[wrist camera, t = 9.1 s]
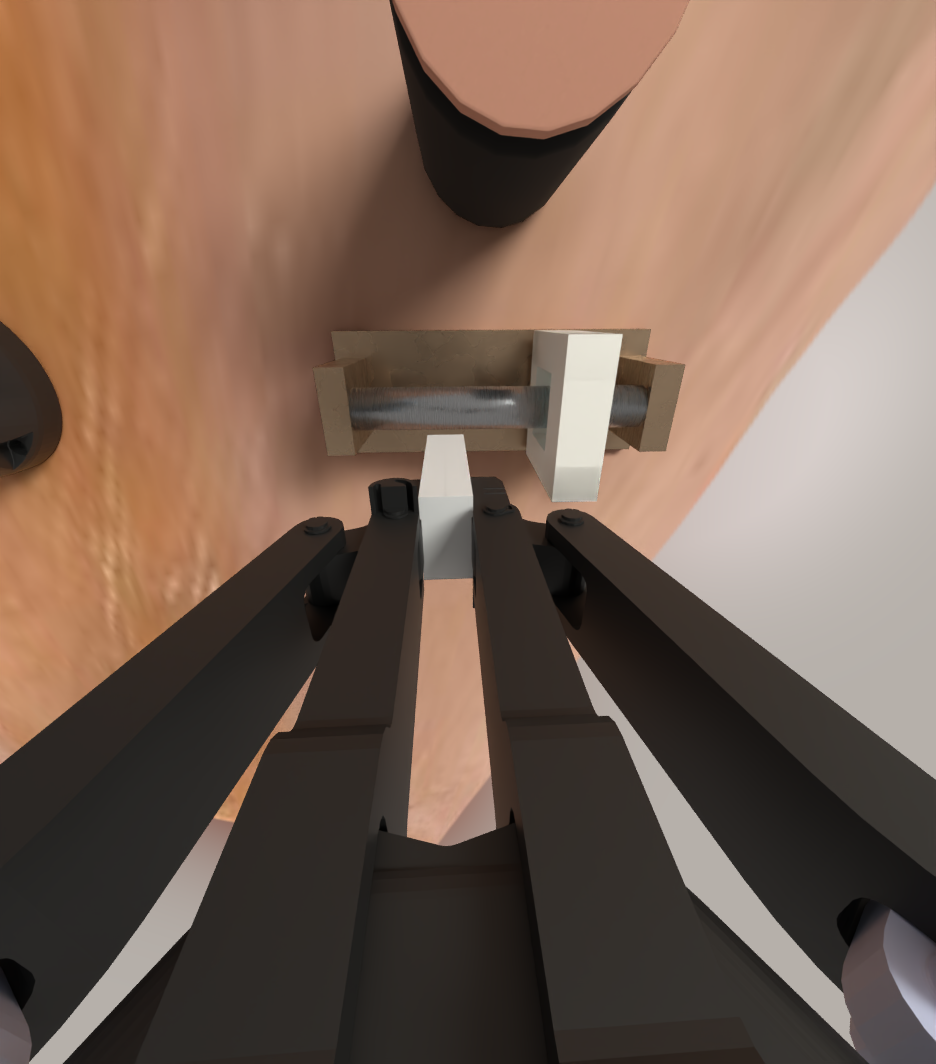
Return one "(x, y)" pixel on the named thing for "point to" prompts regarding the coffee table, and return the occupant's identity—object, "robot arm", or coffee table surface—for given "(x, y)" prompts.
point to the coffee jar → (520, 90)
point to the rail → (474, 391)
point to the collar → (573, 410)
